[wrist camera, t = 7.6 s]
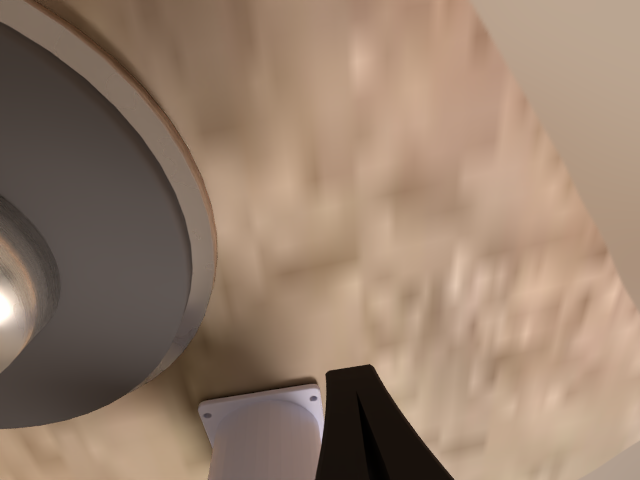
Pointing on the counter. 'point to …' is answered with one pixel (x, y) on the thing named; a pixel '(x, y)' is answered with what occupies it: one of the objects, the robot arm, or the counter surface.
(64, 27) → the base
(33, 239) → the cover
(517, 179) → the counter surface
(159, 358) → the turntable
